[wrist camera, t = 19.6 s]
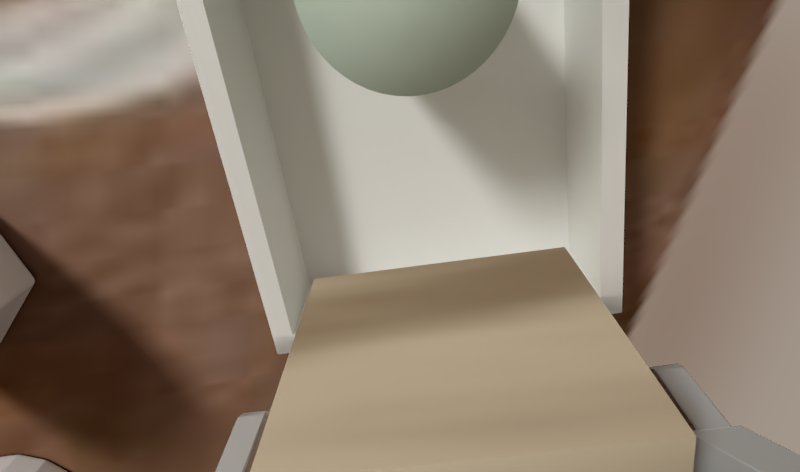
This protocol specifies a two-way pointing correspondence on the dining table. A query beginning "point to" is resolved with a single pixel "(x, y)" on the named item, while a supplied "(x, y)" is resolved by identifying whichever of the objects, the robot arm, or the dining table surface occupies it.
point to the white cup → (27, 464)
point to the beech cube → (469, 376)
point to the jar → (12, 285)
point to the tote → (417, 150)
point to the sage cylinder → (406, 40)
